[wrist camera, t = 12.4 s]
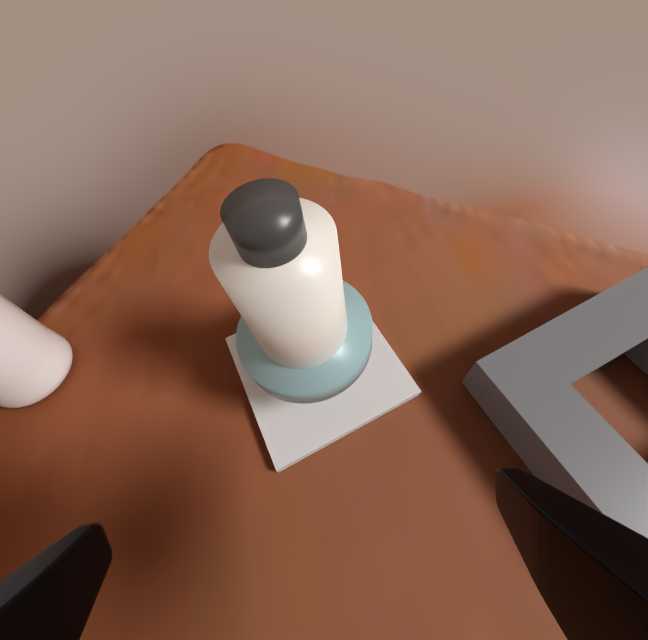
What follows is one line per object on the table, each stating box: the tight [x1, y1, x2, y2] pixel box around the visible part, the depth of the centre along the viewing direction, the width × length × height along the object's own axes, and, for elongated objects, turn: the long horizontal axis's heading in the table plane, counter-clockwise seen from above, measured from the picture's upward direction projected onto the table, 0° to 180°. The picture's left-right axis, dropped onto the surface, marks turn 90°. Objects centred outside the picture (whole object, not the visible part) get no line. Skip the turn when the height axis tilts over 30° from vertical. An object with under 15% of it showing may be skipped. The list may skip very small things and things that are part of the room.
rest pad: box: [225, 321, 421, 472], centre depth 20 cm, size 9×9×1 cm
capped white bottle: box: [209, 179, 373, 404], centre depth 15 cm, size 7×7×12 cm
